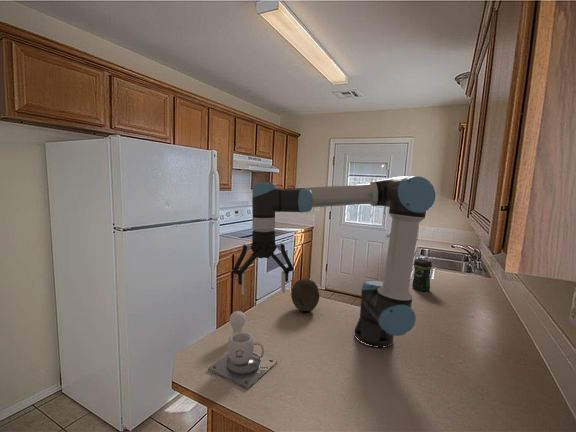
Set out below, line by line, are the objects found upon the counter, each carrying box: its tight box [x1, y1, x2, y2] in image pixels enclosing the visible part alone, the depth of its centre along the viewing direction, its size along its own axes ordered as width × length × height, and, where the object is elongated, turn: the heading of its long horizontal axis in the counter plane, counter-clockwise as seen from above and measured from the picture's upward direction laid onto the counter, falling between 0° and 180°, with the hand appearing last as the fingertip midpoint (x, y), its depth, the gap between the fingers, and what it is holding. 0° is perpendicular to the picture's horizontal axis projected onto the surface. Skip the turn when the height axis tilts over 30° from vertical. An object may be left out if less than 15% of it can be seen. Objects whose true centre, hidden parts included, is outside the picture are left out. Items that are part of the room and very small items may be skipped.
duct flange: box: [207, 353, 273, 390], centre depth 96 cm, size 16×16×2 cm
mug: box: [227, 331, 265, 365], centre depth 96 cm, size 12×8×8 cm
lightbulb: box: [229, 310, 247, 334], centre depth 113 cm, size 6×6×11 cm
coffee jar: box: [411, 258, 433, 292], centre depth 179 cm, size 10×8×19 cm
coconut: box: [290, 278, 320, 312], centre depth 141 cm, size 14×14×15 cm
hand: (263, 292), depth 99 cm, fingers open, 13 cm apart
